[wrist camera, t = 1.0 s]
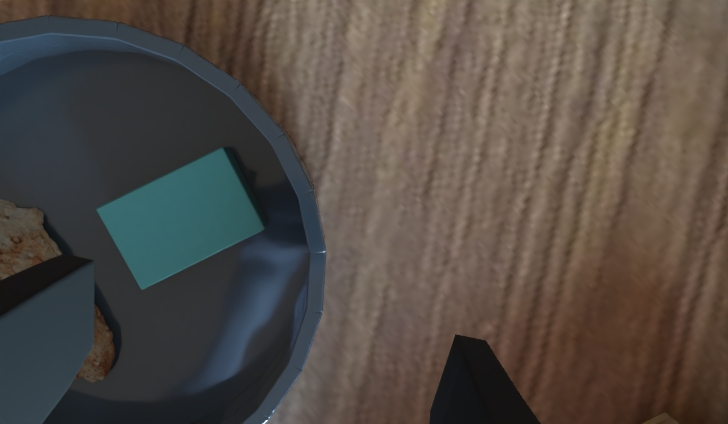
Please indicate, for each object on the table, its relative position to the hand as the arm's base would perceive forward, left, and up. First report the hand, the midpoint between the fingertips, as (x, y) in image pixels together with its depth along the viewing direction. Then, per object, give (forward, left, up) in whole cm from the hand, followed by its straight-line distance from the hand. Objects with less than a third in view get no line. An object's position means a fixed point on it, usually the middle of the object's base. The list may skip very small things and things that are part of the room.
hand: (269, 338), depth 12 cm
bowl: (-8, +3, -17) cm, 19 cm away
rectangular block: (-4, +3, -16) cm, 17 cm away
